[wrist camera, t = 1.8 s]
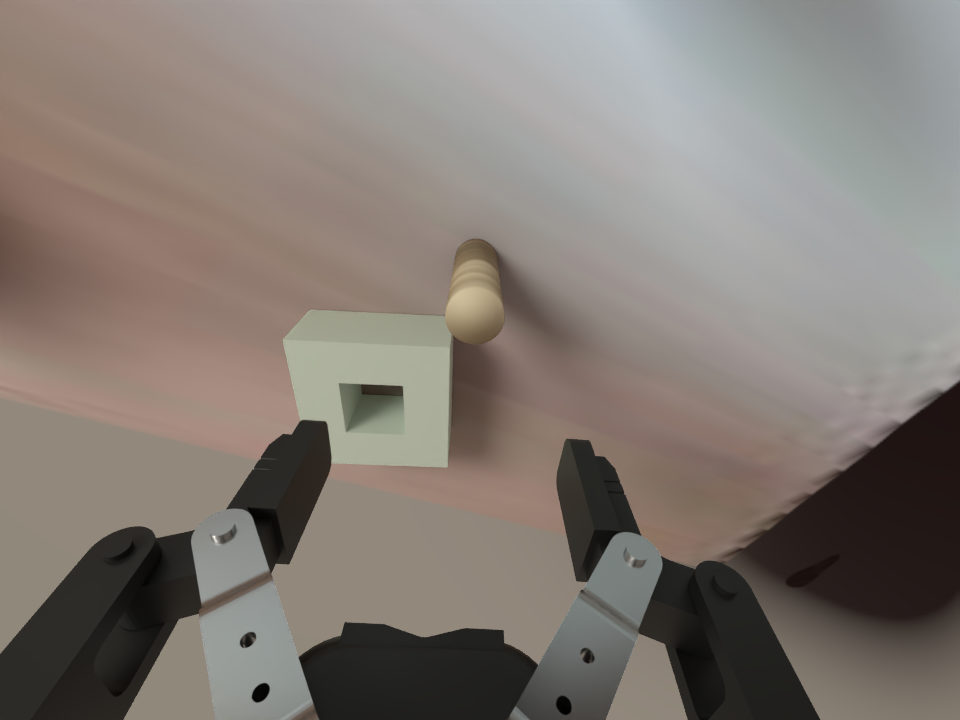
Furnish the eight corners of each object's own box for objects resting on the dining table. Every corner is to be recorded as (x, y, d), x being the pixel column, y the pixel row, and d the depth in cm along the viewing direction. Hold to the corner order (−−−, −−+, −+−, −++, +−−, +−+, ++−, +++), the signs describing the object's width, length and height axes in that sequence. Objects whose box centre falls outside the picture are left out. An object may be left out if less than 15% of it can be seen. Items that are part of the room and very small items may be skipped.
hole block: (310, 309, 31) (282, 339, 27) (453, 316, 31) (449, 347, 27) (329, 422, 36) (309, 462, 32) (451, 427, 37) (447, 467, 32)
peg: (455, 237, 28) (445, 288, 20) (498, 240, 28) (507, 291, 20) (454, 279, 30) (444, 342, 21) (495, 281, 30) (502, 345, 21)
